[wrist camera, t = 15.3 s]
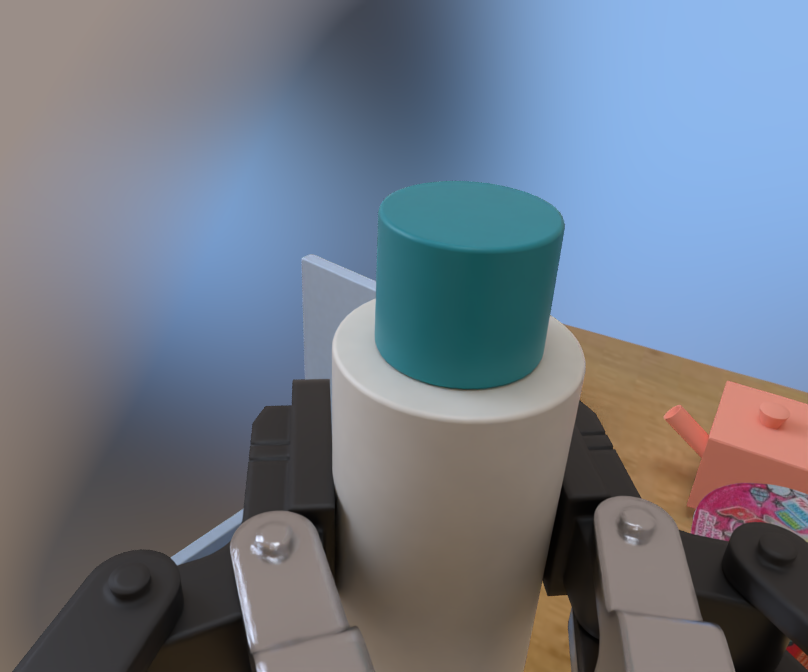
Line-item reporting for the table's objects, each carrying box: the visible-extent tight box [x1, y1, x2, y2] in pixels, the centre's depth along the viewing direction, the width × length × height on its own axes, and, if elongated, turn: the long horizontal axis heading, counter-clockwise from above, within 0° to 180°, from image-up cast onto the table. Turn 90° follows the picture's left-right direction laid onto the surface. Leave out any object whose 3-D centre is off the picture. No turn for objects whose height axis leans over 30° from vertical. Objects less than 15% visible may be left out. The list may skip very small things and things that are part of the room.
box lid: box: [302, 254, 376, 423], centre depth 35 cm, size 12×11×4 cm
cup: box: [691, 483, 808, 670], centre depth 37 cm, size 9×8×12 cm
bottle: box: [332, 181, 585, 672], centre depth 13 cm, size 4×4×12 cm
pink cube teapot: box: [664, 381, 808, 509], centre depth 52 cm, size 8×12×8 cm, turn 61°
